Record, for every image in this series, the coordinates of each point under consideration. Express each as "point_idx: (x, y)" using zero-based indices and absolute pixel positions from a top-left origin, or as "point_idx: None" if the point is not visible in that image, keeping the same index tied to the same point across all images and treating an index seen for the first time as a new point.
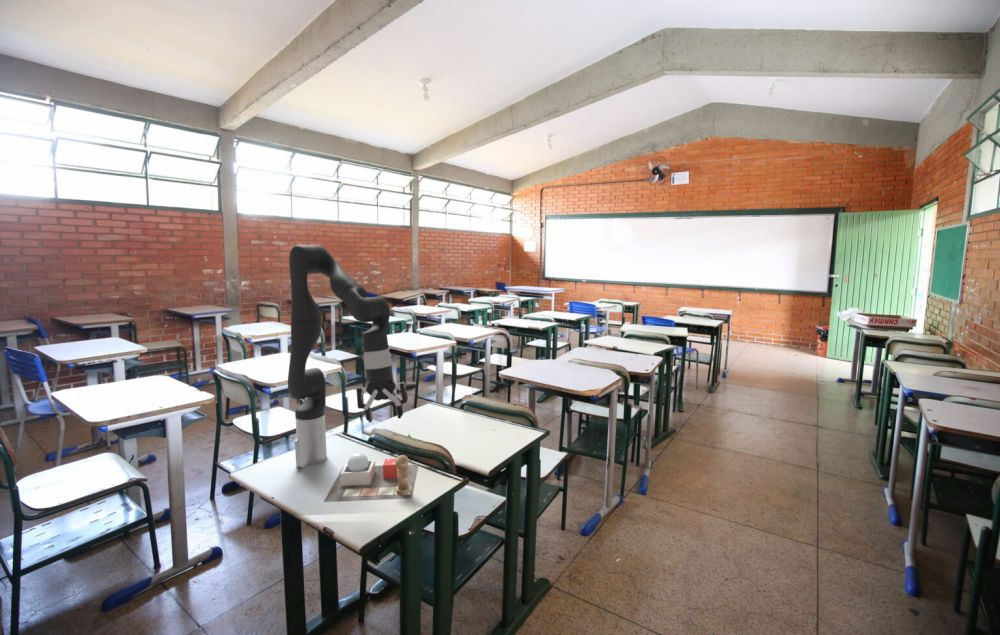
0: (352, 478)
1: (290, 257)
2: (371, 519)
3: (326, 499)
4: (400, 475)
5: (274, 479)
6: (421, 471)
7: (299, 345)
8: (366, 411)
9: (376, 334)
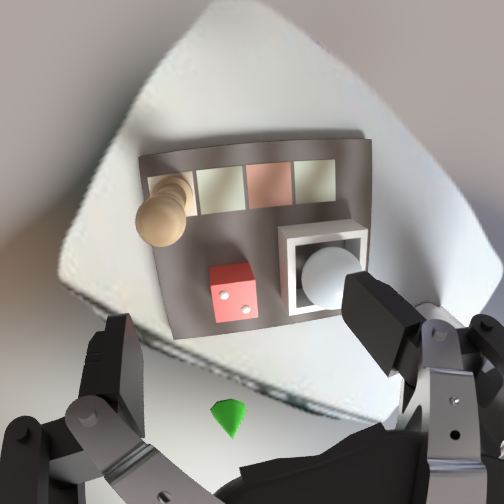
0: (330, 227)
1: None
2: (230, 73)
3: (368, 149)
4: (168, 192)
5: (466, 258)
6: (162, 319)
7: None
8: (417, 320)
9: None
